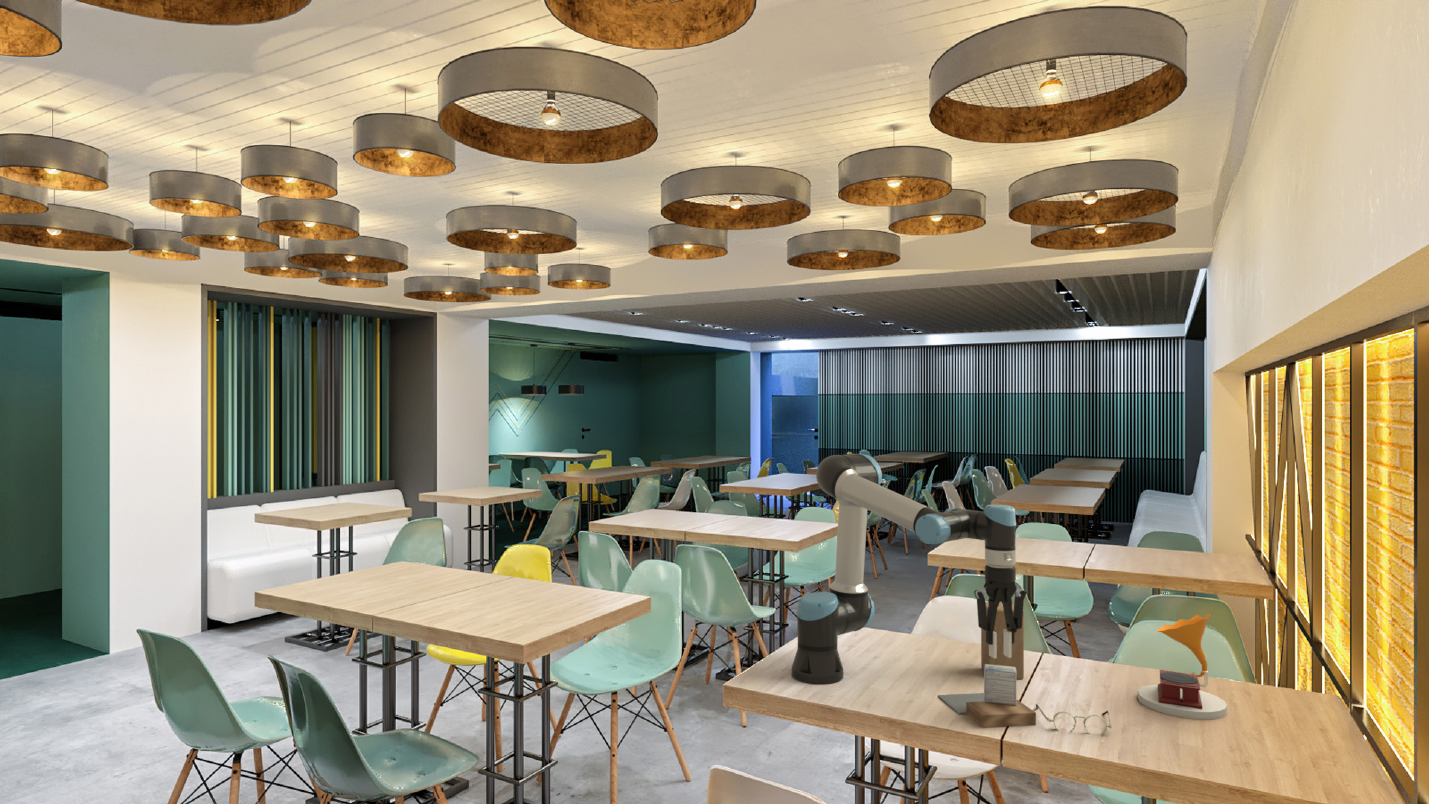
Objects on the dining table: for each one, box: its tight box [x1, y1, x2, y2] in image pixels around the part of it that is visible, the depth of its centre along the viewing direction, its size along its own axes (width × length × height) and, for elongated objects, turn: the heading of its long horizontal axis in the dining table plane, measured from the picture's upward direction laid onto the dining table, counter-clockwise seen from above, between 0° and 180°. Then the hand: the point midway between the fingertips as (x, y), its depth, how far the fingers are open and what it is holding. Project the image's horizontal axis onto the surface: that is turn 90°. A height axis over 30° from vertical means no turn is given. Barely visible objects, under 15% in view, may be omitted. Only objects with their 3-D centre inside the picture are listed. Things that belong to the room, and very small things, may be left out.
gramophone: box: [1137, 613, 1228, 720], centre depth 214 cm, size 20×20×25 cm
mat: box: [937, 692, 984, 715], centre depth 214 cm, size 17×13×1 cm
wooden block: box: [980, 601, 1025, 680], centre depth 239 cm, size 10×10×20 cm
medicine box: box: [983, 664, 1018, 705], centre depth 207 cm, size 8×4×9 cm, turn 71°
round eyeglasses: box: [1035, 703, 1113, 736], centre depth 202 cm, size 17×15×5 cm
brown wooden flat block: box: [965, 699, 1037, 728], centre depth 203 cm, size 14×9×3 cm, turn 98°
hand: (1000, 656), depth 207 cm, fingers open, 3 cm apart
